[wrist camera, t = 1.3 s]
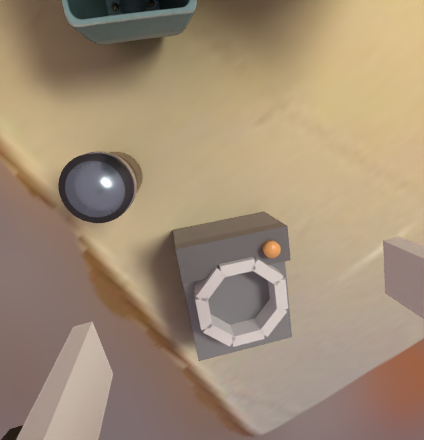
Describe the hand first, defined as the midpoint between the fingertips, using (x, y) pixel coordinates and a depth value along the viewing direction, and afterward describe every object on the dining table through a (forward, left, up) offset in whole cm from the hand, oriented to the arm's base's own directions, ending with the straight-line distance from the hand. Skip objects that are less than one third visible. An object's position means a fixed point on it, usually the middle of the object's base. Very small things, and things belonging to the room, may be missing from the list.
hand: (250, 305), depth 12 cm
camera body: (+9, +2, -21) cm, 23 cm away
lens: (-5, -8, -21) cm, 22 cm away
